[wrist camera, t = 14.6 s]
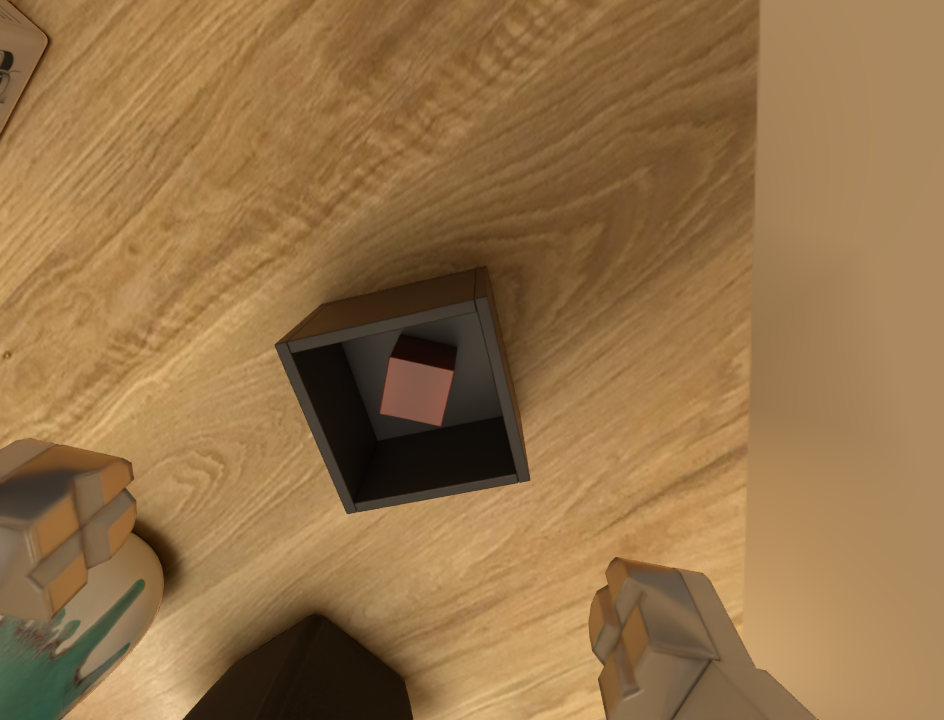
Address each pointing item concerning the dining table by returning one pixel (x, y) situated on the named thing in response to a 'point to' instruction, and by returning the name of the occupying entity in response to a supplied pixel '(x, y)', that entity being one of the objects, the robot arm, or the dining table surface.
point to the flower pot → (307, 681)
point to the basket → (396, 439)
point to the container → (16, 56)
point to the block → (418, 380)
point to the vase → (80, 637)
